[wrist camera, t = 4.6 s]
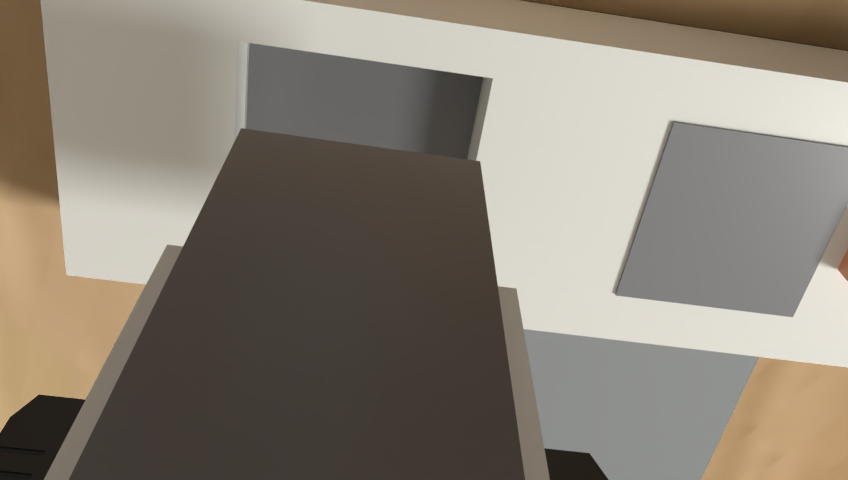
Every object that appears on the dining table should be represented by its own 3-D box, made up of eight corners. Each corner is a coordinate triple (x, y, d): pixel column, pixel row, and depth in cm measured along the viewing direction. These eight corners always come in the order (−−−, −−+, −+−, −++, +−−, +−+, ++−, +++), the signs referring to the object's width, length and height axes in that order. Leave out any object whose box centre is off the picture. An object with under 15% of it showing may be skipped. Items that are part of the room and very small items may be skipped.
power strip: (89, -67, 22) (22, -33, 18) (1163, 100, 24) (1297, 158, 21) (106, 217, 26) (55, 290, 22) (1010, 329, 29) (1097, 411, 25)
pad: (526, 293, 28) (527, 300, 28) (767, 323, 29) (771, 329, 28) (479, 471, 32) (479, 478, 32) (688, 492, 33) (691, 500, 33)
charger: (241, 128, 16) (34, 550, 8) (480, 161, 17) (541, 598, 8) (234, 320, 19) (75, 797, 10) (441, 344, 19) (456, 824, 11)
